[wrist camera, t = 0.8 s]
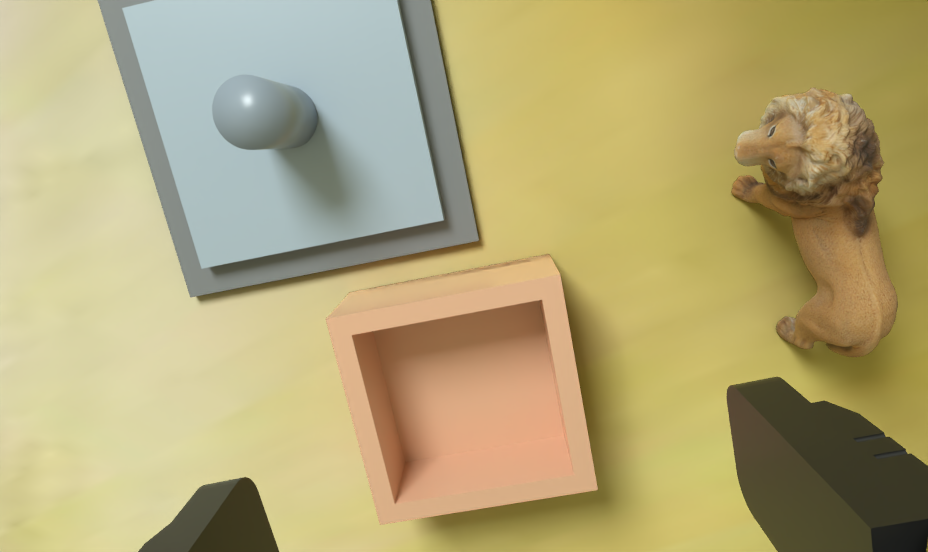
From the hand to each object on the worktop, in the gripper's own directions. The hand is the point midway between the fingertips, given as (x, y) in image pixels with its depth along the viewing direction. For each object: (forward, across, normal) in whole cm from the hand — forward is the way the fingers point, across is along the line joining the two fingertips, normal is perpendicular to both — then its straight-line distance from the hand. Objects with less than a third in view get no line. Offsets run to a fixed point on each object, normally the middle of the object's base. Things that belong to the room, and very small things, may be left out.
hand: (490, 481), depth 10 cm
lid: (+22, +8, -8) cm, 25 cm away
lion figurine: (+23, -14, +2) cm, 27 cm away
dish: (+22, +3, +7) cm, 24 cm away
